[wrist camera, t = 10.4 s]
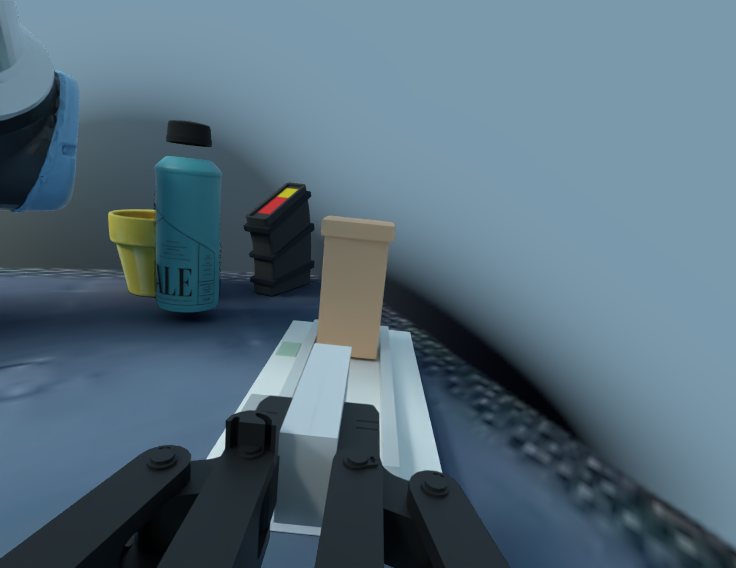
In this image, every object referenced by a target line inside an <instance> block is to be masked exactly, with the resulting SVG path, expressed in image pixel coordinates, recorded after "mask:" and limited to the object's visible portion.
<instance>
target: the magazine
mask: <svg viewBox="0 0 736 568" xmlns="http://www.w3.org/2000/svg"><path fill="white" fill-rule="evenodd" d="M310 197H311V192H310V191H306V186H305V184H297V183H286V184H285V185H284V186H282V187H281V188H280V189H278V191H276V192H275V193H274V194H272V195H271V196H270V197H269V198H267V199H266V200H265V201H264V202H262V203H261V204H260V205H259V206H257V207H256V208H255V209H254V210H252V211H251V212H250V213H249V214H247V215H246V218H247V223H246V224H245V225H244V230H245V231H248V232H250V234H251V238H252V242H253V251H251V252H250V253H249V255H250V257H253V258H254V263H255V275H254V276H252V277H250V282H253V283H254V292H255V293H258V294H263V295H268V296H274V295H277V294H280V293H283V292H286V291H289V290H291V289H294V288H297V287H300V286H303V285H306V284H308V283H309V282H310V269H312V268H314V261H312V260H311V232H312V231H313V230H314V224H313V223H310V214H309V205H308V199H309V198H310Z"/></svg>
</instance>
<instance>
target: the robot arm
mask: <svg viewBox="0 0 736 568" xmlns="http://www.w3.org/2000/svg"><path fill="white" fill-rule="evenodd" d="M78 122H79V87H78V83H77V81H76V80H75V79H74V78H73V77H72V76H69V75H67V74H63V73H62V72H61V71H59V70H54V69H53V65H52V62H51V59H50V56H49V53H48V52H47V50H46V49H45V47H44V46H43V44H42V43H41V42H40V41H39V40H38V39H37V38H36V37H35V36H34V35H33V34H32V33H30V31H29V30H28V29H26V28H25V27H23V26H22V25H21V24H20V22H19V16H18V11H17V6H16V2H15V0H0V211H11V212H14V213H19V212H23V211H26V210H29V211H54V210H59V209H61V208H63V207H65V206H66V205H67V204H68V203H69V202H70V200H71V197H72V193H73V188H74V180H75V170H76V148H77V138H78V124H79V123H78ZM351 349H352V347H348V346H339V345H329V344H319V343H315V344H314V346H313V349H312V351H311V354H310V356H309V359H308V361H307V364H306V366H305V369H304V372H303V374H302V377H301V379H300V382H299V384H298V387H297V389H296V392H295V394H294V397H293V398H292V397H282V396H272V395H270V396H268V397H267V398H265V399H264V400H262V401H261V402H260V403H259V404H258V406H257V408H256V410H247V411H242V412H238V413H236V414H234V415H231V416H230V417H229V418H228V419H227V420H226V433H225V450H224V451H223V453H222V455H221V456H219V457H216V458H212V459H206V460H197V461H191V454H190V453H189V451H188V450H187V449H185V448H183V447H180V446H174V445H166V446H165V445H164V446H159V447H155V448H152V449H149V450H147V451H145V452H143V453H142V454H140V455H139V456H137V457H136V458H135V459H133V460H132V461H131V462H129V463H128V464H127V465H125V466H124V467H123V468H121V469H120V470H118V471H117V472H116V473H114V474H113V475H112V476H110V477H109V478H108V479H106V480H105V481H104V482H102V483H101V484H100V485H98V486H97V487H96V488H94V489H93V490H92V491H90V492H89V493H88V494H86V495H85V496H84V497H82V498H81V499H80V500H78V501H77V502H76V503H74V504H73V505H72V506H70V507H69V508H68V509H66V510H65V511H64V512H62V513H61V514H59V515H58V516H57V517H55V518H54V519H53V520H51V521H50V522H49V523H47V524H46V525H45V526H43V527H42V528H41V529H39V530H38V531H37V532H35V533H34V534H33V535H31V536H30V537H29V538H27V539H26V540H25V541H23V542H22V543H21V544H19V545H18V546H17V547H15V548H14V549H13V550H11V551H10V552H9V553H7V554H6V555H5V556H3V557H2V558H0V568H261V565H262V561H263V558H264V555H265V551H266V548H267V545H268V541H269V538H270V522H271V519H272V515H273V512H274V523H282V524H291V525H301V526H311V527H321V533H320V539H319V545H318V551H317V557H316V563H315V568H384V564H386V565H389V566H391V567H394V568H510V567H509V565H508V563H507V562H506V560H505V558H504V557H503V555H502V553H501V552H500V550H499V549H498V547H497V545H496V544H495V542H494V540H493V539H492V537H491V536H490V534H489V532H488V531H487V529H486V527H485V526H484V524H483V523H482V521H481V519H480V518H479V516H478V514H477V513H476V511H475V510H474V508H473V506H472V505H471V503H470V501H469V500H468V498H467V497H466V495H465V493H464V492H463V490H462V488H461V487H460V485H459V484H458V483H457V482H456V481H455V480H454V479H453V478H451V477H450V476H448V475H446V474H444V473H441V472H438V471H431V470H424V471H419V472H417V473H415V474H414V475H412V476H411V478H410V480H409V481H408V480H405V479H402V478H400V477H397V476H395V475H393V474H392V473H390V472H389V471H387V470H386V469H385V468H384V467H383V465H382V462H381V459H380V431H379V430H380V425H379V412H378V411H377V409H376V408H375V407H374V405H370V404H361V403H351V402H346V399H347V389H348V379H349V369H350V359H351ZM274 509H275V510H274Z"/></svg>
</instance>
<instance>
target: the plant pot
mask: <svg viewBox="0 0 736 568" xmlns="http://www.w3.org/2000/svg"><path fill="white" fill-rule="evenodd" d="M154 213H155V214H154ZM108 220H109V233H110V239H111V241H113V242H115V243H116V245H117V249H118V252H119V256H120V259H121V263H122V267H123V271H124V274H125V278H126V282H127V286H128V290H129V292H131V293H132V294H135V295H139V296H147V297H156V296H155V295H156V292H155V290H156V287H155V286H156V261H155V260H156V256H155V255H156V252H155V253H154V251H155V250H156V249H155V248H156V245H155V244H156V234H155V233H156V225H155V224H154V223H155V222H156V211H155V210H117V211H111V212H110V213H109V215H108ZM154 226H155V227H154ZM154 231H155V232H154ZM154 249H155V250H154ZM154 261H155V265H154ZM154 272H155V275H154ZM154 278H155V284H154Z"/></svg>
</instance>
